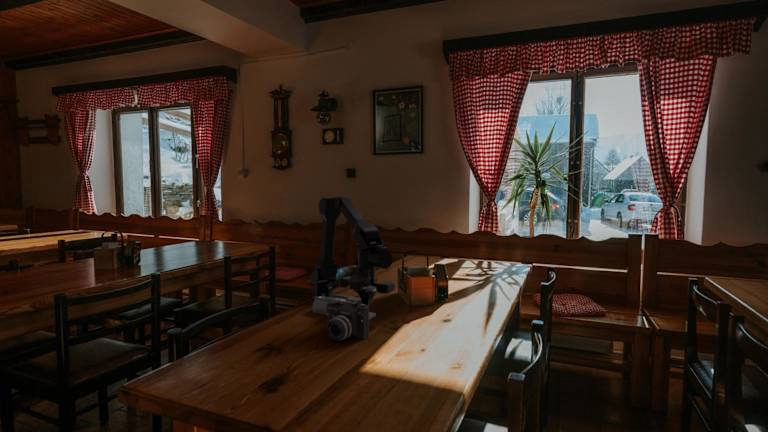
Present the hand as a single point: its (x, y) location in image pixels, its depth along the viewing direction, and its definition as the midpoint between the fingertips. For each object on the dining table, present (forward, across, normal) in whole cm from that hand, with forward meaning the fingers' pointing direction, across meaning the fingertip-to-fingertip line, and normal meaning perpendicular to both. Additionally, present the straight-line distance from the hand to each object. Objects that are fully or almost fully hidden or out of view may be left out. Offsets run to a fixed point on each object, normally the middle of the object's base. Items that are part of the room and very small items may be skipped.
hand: (366, 309), depth 153 cm
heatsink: (+2, -12, 0) cm, 13 cm away
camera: (+3, +4, -20) cm, 21 cm away
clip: (+1, -5, 0) cm, 5 cm away
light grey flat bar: (-1, -12, 0) cm, 12 cm away
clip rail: (+2, -2, 0) cm, 3 cm away
